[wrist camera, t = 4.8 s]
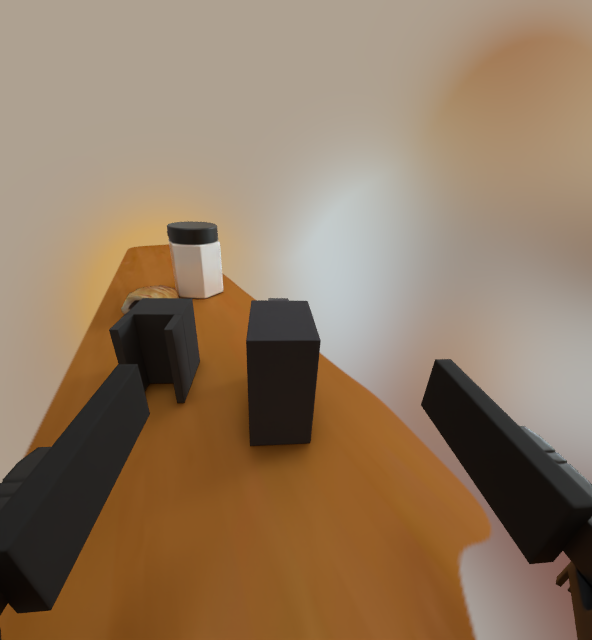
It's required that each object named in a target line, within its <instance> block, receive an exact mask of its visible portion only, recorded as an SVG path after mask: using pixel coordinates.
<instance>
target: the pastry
mask: <svg viewBox="0 0 592 640" xmlns="http://www.w3.org/2000/svg"><path fill="white" fill-rule="evenodd" d="M142 298H178V292H177V290H176V289H175V288H171V287H167V286H163V285H160V286H150V287H143V288H140V289H136V291H135V292H131V293H129V294H128V296H127V298H126V300H125V302H124V304H123V307H122V308H121V311H122V312H123V313H124V314H126V313H127V312H128V311H129V310H131V309H132V308H133V307H134V306H135V305H136V304H137V303H138V302H139V301H140V300H141V299H142Z"/></svg>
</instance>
